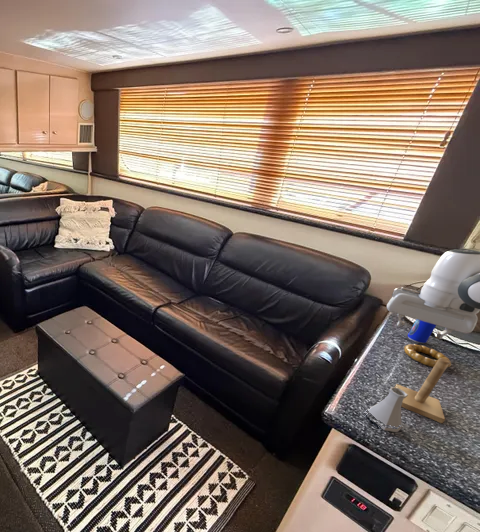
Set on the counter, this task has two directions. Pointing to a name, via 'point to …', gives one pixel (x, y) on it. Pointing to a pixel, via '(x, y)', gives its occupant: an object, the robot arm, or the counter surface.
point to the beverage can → (421, 331)
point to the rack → (426, 394)
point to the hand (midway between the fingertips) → (418, 331)
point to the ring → (419, 348)
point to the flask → (389, 409)
